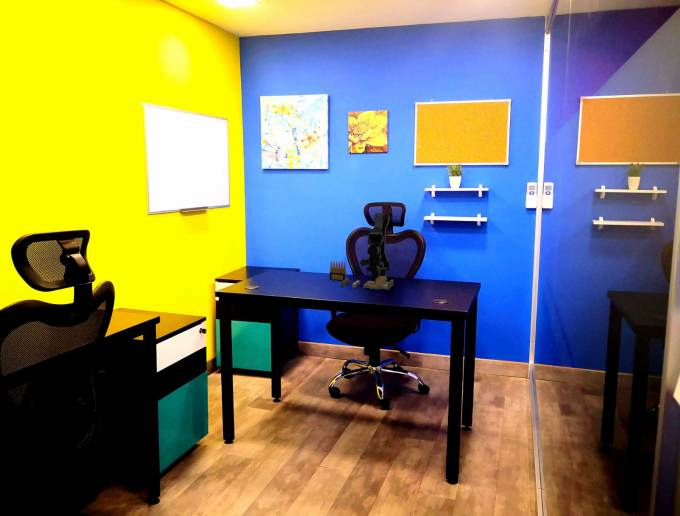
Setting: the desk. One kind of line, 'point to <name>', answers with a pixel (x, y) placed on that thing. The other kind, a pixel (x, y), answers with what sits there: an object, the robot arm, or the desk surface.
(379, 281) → the block
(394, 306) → the desk surface
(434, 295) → the desk surface
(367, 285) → the trap board
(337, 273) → the ammunition clip
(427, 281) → the desk surface
